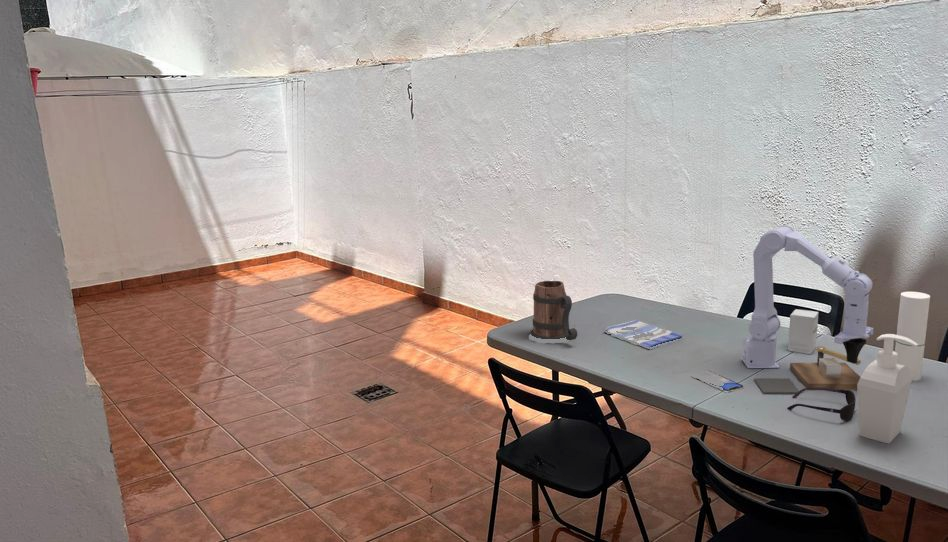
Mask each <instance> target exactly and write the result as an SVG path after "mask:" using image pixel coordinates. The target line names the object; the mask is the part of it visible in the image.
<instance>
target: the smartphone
mask: <svg viewBox="0 0 948 542" xmlns="http://www.w3.org/2000/svg"><path fill="white" fill-rule="evenodd" d="M709 371H710V372H711V374H712V372H713V371H711V370H709ZM712 375H713V374H712ZM718 375H719V376H721V377H723V378H722V379H719V380H721V381H723V382H726V383H721V384H724V385H723V386H719V387H722V388H723V390H725V391H731V390H736V389H739V390H741V389H740V388H742V389H744V388H743V387H744V385H743V384H740V383H738V382H736V381H733V380H731V379H730V378H727V377H724V376H722V375H720V374H718ZM713 376H714V375H713ZM714 377H715V376H714ZM718 383H719V382H718ZM710 384H711V383H710ZM712 385H714V384H712ZM715 386H718V385H715ZM736 391H737V390H736Z"/></svg>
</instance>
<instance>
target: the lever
mask: <svg viewBox="0 0 948 542" xmlns="http://www.w3.org/2000/svg"><path fill="white" fill-rule="evenodd" d="M816 348H817V349H816V352H817V353H818V352H820V353H824V355H828V356H830V357H833V358H836V359H839V360H842V361H845V362H847V354H844V353H840V352H838V351H835V350H832V349H829V348H826V347H824V346H816ZM861 361H862V360H861V359H859V358H858V359H857V361H856V363H854V365H855V366H856V365H857V366H860V365H861Z"/></svg>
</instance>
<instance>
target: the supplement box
mask: <svg viewBox="0 0 948 542" xmlns="http://www.w3.org/2000/svg"><path fill="white" fill-rule="evenodd" d="M818 325H819V311H816V310H815V311H813V310H807V309H796V308H795V309H794V310H793V311H792V313H791V314H790V315H789V327H788V328H789V331H788V340H787V341H788V342H787V351H789V352H794V353H800V354H807V355H812V353H813V352H814V350H815V349H816V348H817V337H818Z"/></svg>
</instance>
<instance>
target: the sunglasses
mask: <svg viewBox="0 0 948 542" xmlns="http://www.w3.org/2000/svg"><path fill="white" fill-rule="evenodd" d="M812 389H813V390H812ZM805 391H825V392H832V393H838V394H843V395H845V401H846V403H847V404H846V405H844V406H843V407H842V408H840V409H839V408H838V409H836V408H831V407H822V406H816V405H809V404H804V403H795V404H791V405H790V406H788V407H787V408H786V410H788V411H792V410H793V409H795V408H796V407H802V408H808V409H814V410H817V411H823V412H829V413H833V414H834V413H835V414H839V417H840V419H841V420H842V421H843V422H848V421H850V420H852V419H853V416H854V412H855V408H856V400H857V399H856V395H855V392H854V391H853V390H841V389H833V388H820V387H809V388H806V387H804V388H802V389H799V392H797V393H796V394H792V396H791V397H792V398H791V399H797V398H798V397H799V396H800V395H801V394H802V393H803V392H805Z"/></svg>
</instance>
